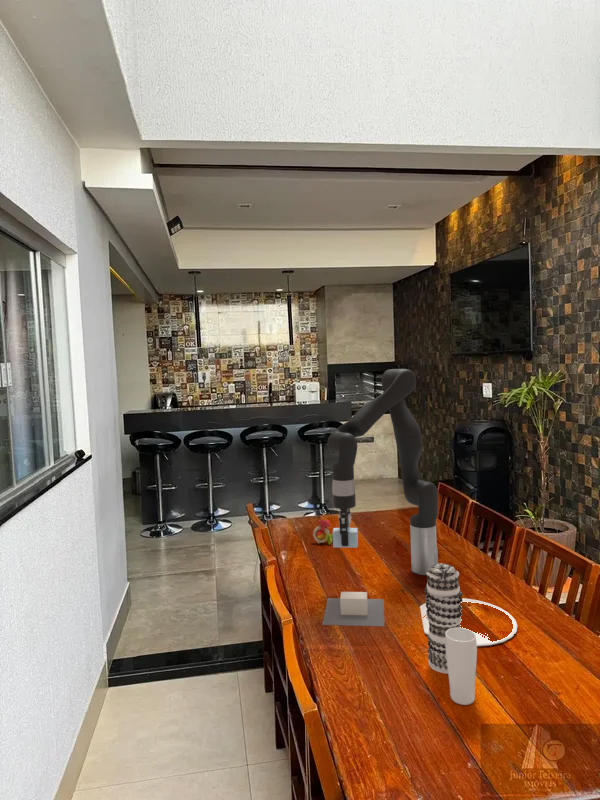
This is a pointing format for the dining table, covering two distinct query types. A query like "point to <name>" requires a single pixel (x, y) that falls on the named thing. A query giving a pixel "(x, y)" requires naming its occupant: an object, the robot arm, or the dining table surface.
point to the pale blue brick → (351, 538)
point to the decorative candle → (441, 611)
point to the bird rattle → (320, 534)
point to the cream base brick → (353, 603)
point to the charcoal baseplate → (371, 619)
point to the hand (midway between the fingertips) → (345, 542)
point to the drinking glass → (461, 664)
